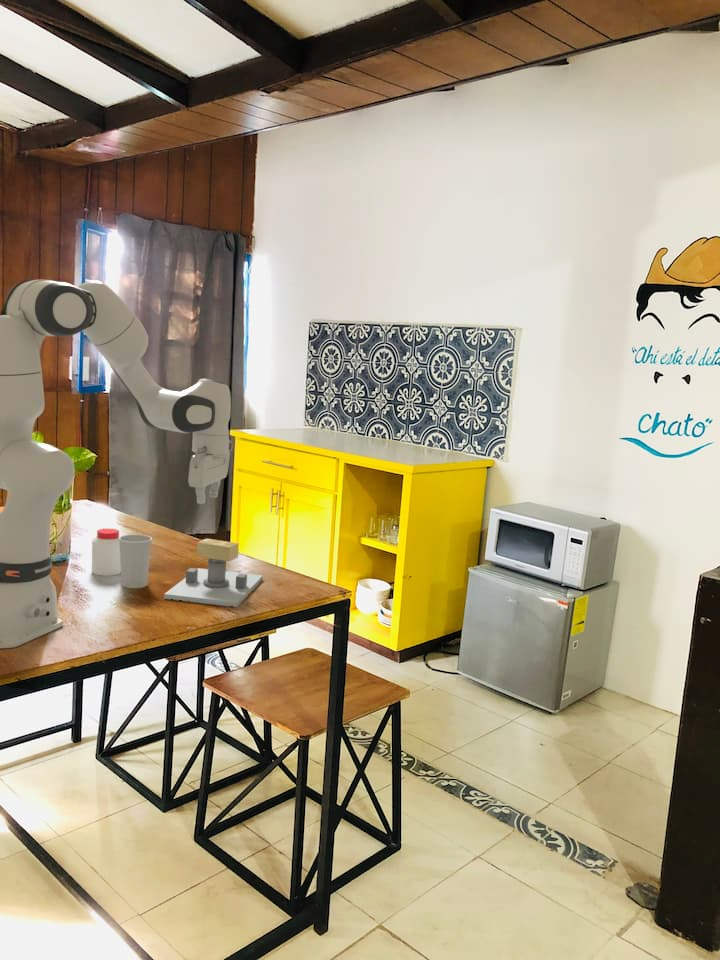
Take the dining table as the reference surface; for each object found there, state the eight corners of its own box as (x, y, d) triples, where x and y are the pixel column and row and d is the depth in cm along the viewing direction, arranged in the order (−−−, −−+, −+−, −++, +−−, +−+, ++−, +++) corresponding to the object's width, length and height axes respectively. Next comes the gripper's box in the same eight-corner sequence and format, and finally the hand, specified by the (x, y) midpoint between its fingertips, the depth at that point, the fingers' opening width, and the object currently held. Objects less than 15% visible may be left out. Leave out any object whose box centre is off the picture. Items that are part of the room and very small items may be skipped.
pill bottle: (103, 577, 202) (104, 535, 200) (85, 570, 207) (86, 529, 205) (128, 572, 208) (129, 531, 207) (110, 565, 213) (111, 526, 211)
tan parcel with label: (237, 561, 200) (238, 542, 199) (229, 565, 195) (230, 546, 194) (205, 555, 202) (206, 538, 201) (196, 560, 198) (197, 541, 197)
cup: (134, 577, 204) (135, 532, 202) (157, 584, 200) (159, 538, 198) (110, 584, 197) (112, 537, 195) (134, 591, 193) (135, 543, 191)
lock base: (236, 607, 187) (238, 578, 186) (164, 598, 189) (165, 569, 188) (262, 579, 210) (264, 553, 209) (197, 572, 213) (198, 546, 211)
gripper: (209, 450, 184) (205, 508, 186) (234, 443, 204) (231, 495, 206) (183, 448, 185) (180, 505, 187) (211, 440, 205) (208, 493, 207)
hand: (207, 500), depth 196 cm, fingers open, 8 cm apart
